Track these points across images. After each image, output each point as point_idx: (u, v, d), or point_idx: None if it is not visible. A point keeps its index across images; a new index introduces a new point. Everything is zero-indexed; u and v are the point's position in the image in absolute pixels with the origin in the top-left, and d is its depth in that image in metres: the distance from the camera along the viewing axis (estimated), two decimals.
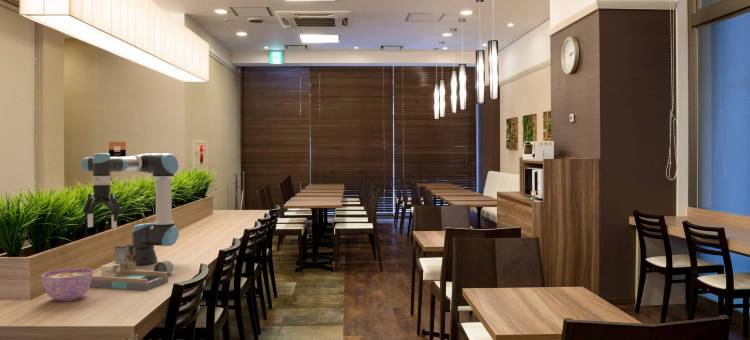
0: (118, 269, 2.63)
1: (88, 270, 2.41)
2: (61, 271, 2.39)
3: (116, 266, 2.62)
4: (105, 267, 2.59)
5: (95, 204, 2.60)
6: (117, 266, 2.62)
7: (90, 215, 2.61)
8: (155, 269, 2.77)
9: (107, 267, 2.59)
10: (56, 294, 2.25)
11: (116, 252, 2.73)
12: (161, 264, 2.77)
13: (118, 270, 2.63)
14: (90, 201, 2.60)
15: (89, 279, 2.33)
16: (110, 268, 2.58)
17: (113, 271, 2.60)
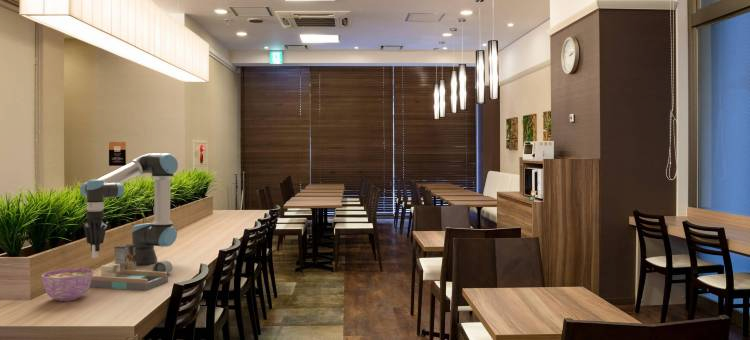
0: (118, 269, 2.63)
1: (88, 270, 2.41)
2: (61, 271, 2.39)
3: (116, 266, 2.62)
4: (105, 267, 2.59)
5: (93, 231, 2.63)
6: (117, 266, 2.62)
7: None
8: (154, 269, 2.77)
9: (107, 267, 2.59)
10: (56, 294, 2.25)
11: (116, 252, 2.73)
12: (160, 264, 2.77)
13: (118, 270, 2.63)
14: (88, 230, 2.64)
15: (89, 279, 2.33)
16: (110, 268, 2.58)
17: (113, 271, 2.60)
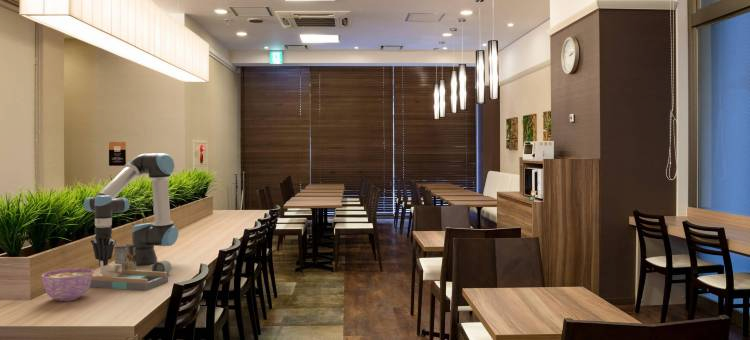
0: (120, 269, 2.63)
1: (88, 270, 2.41)
2: (61, 271, 2.39)
3: (118, 266, 2.61)
4: (107, 267, 2.58)
5: (101, 247, 2.62)
6: (119, 266, 2.62)
7: None
8: (153, 269, 2.78)
9: (109, 267, 2.58)
10: (56, 294, 2.25)
11: (116, 252, 2.73)
12: (159, 264, 2.77)
13: (120, 270, 2.63)
14: (96, 246, 2.63)
15: (89, 279, 2.33)
16: (112, 268, 2.58)
17: (115, 271, 2.59)
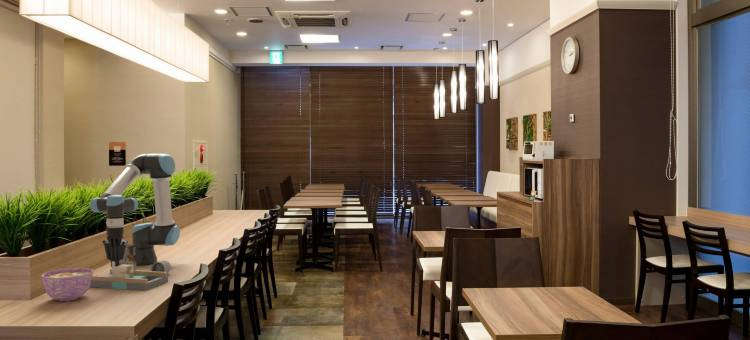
0: (131, 270, 2.61)
1: (88, 270, 2.41)
2: (61, 271, 2.39)
3: (129, 267, 2.60)
4: (118, 268, 2.57)
5: (113, 247, 2.60)
6: (130, 267, 2.60)
7: None
8: (153, 269, 2.78)
9: (121, 268, 2.57)
10: (56, 294, 2.25)
11: None
12: (159, 264, 2.77)
13: (131, 271, 2.61)
14: (108, 246, 2.61)
15: (89, 279, 2.33)
16: (124, 269, 2.56)
17: (126, 272, 2.58)
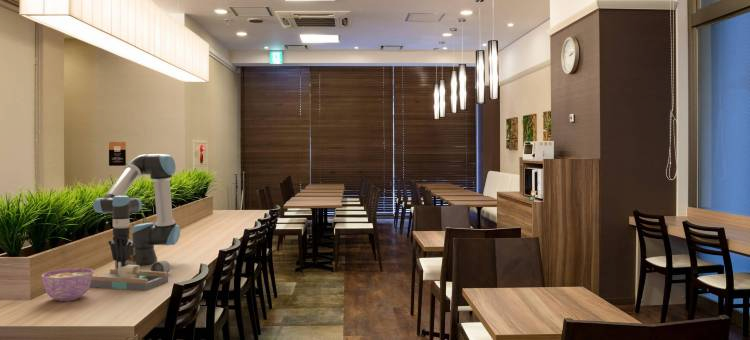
0: (138, 270, 2.60)
1: (88, 270, 2.41)
2: (61, 271, 2.39)
3: (136, 267, 2.59)
4: (125, 268, 2.56)
5: (119, 248, 2.60)
6: (137, 267, 2.60)
7: None
8: (152, 269, 2.78)
9: (127, 268, 2.56)
10: (56, 294, 2.25)
11: None
12: (158, 264, 2.77)
13: (138, 271, 2.60)
14: (114, 247, 2.61)
15: (89, 279, 2.33)
16: (130, 269, 2.56)
17: (133, 272, 2.57)
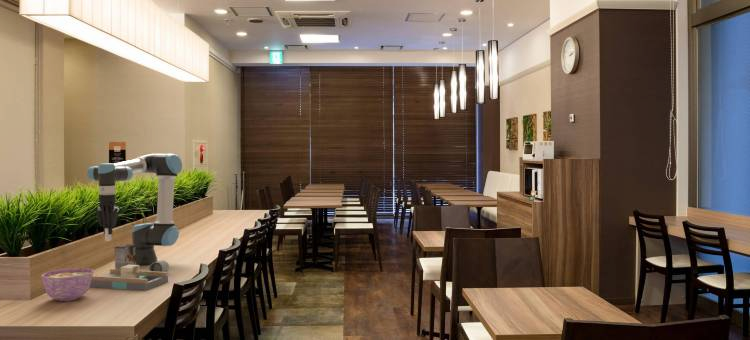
0: (138, 270, 2.60)
1: (88, 270, 2.41)
2: (61, 271, 2.39)
3: (136, 267, 2.59)
4: (125, 268, 2.56)
5: (106, 215, 2.64)
6: (137, 267, 2.60)
7: None
8: (151, 269, 2.78)
9: (127, 268, 2.56)
10: (56, 294, 2.25)
11: (116, 252, 2.73)
12: (157, 264, 2.77)
13: (138, 271, 2.60)
14: (100, 213, 2.65)
15: (89, 279, 2.33)
16: (130, 269, 2.56)
17: (133, 272, 2.57)
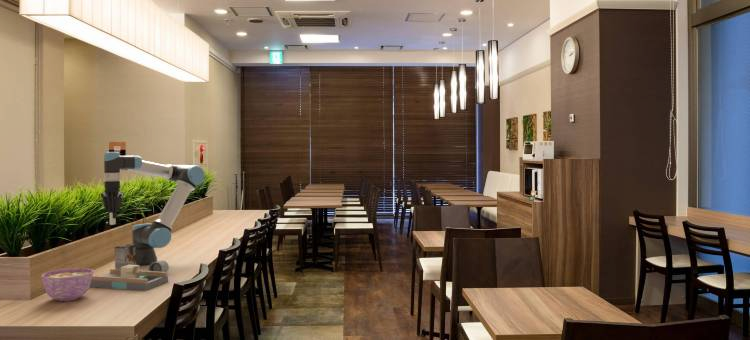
0: (138, 270, 2.60)
1: (88, 270, 2.41)
2: (61, 271, 2.39)
3: (136, 267, 2.59)
4: (125, 268, 2.56)
5: (110, 200, 2.82)
6: (137, 267, 2.60)
7: None
8: (150, 269, 2.78)
9: (127, 268, 2.56)
10: (56, 294, 2.25)
11: (116, 252, 2.73)
12: (156, 264, 2.77)
13: (138, 271, 2.60)
14: (105, 199, 2.83)
15: (89, 279, 2.33)
16: (130, 269, 2.56)
17: (133, 272, 2.57)
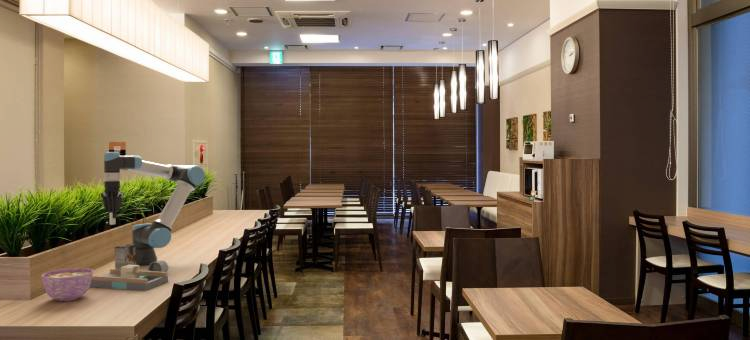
0: (138, 270, 2.60)
1: (88, 270, 2.41)
2: (61, 271, 2.39)
3: (136, 267, 2.59)
4: (125, 268, 2.56)
5: (110, 200, 2.82)
6: (137, 267, 2.60)
7: None
8: (150, 269, 2.78)
9: (127, 268, 2.56)
10: (56, 294, 2.25)
11: (116, 252, 2.73)
12: (156, 264, 2.77)
13: (138, 271, 2.60)
14: (105, 199, 2.83)
15: (89, 279, 2.33)
16: (130, 269, 2.56)
17: (133, 272, 2.57)
